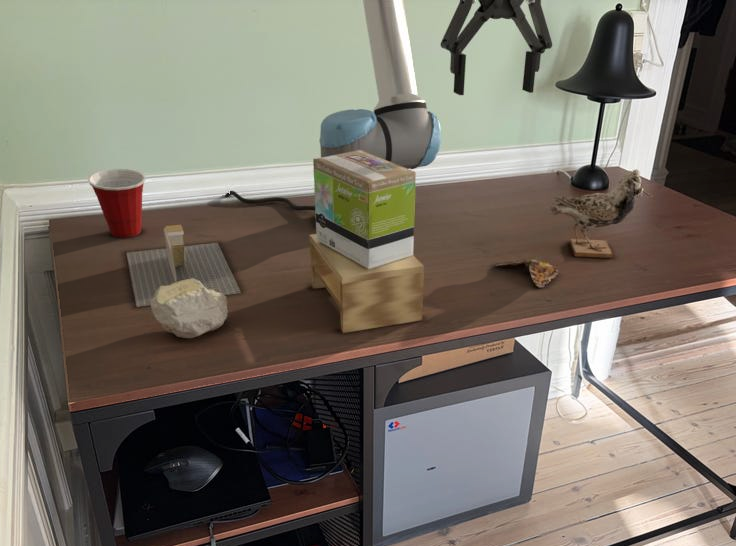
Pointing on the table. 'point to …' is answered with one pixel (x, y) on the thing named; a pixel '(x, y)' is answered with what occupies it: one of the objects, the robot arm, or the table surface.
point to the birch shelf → (368, 288)
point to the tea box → (365, 207)
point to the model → (178, 267)
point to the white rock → (189, 308)
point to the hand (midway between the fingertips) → (493, 92)
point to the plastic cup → (120, 199)
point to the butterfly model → (539, 271)
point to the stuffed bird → (600, 213)
